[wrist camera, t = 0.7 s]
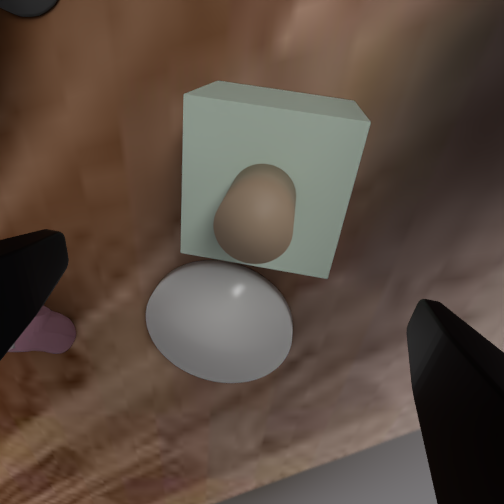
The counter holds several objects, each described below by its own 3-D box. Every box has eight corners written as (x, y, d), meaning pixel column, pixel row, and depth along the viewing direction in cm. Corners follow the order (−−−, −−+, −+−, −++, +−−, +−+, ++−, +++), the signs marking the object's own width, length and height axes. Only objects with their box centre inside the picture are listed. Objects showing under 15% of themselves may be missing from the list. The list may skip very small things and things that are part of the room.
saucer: (255, 239, 22) (253, 247, 21) (314, 356, 26) (314, 367, 25) (124, 285, 25) (117, 294, 24) (194, 383, 29) (191, 393, 28)
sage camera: (354, 100, 17) (386, 142, 10) (323, 224, 20) (331, 325, 13) (217, 80, 17) (151, 106, 10) (209, 205, 21) (155, 292, 14)
